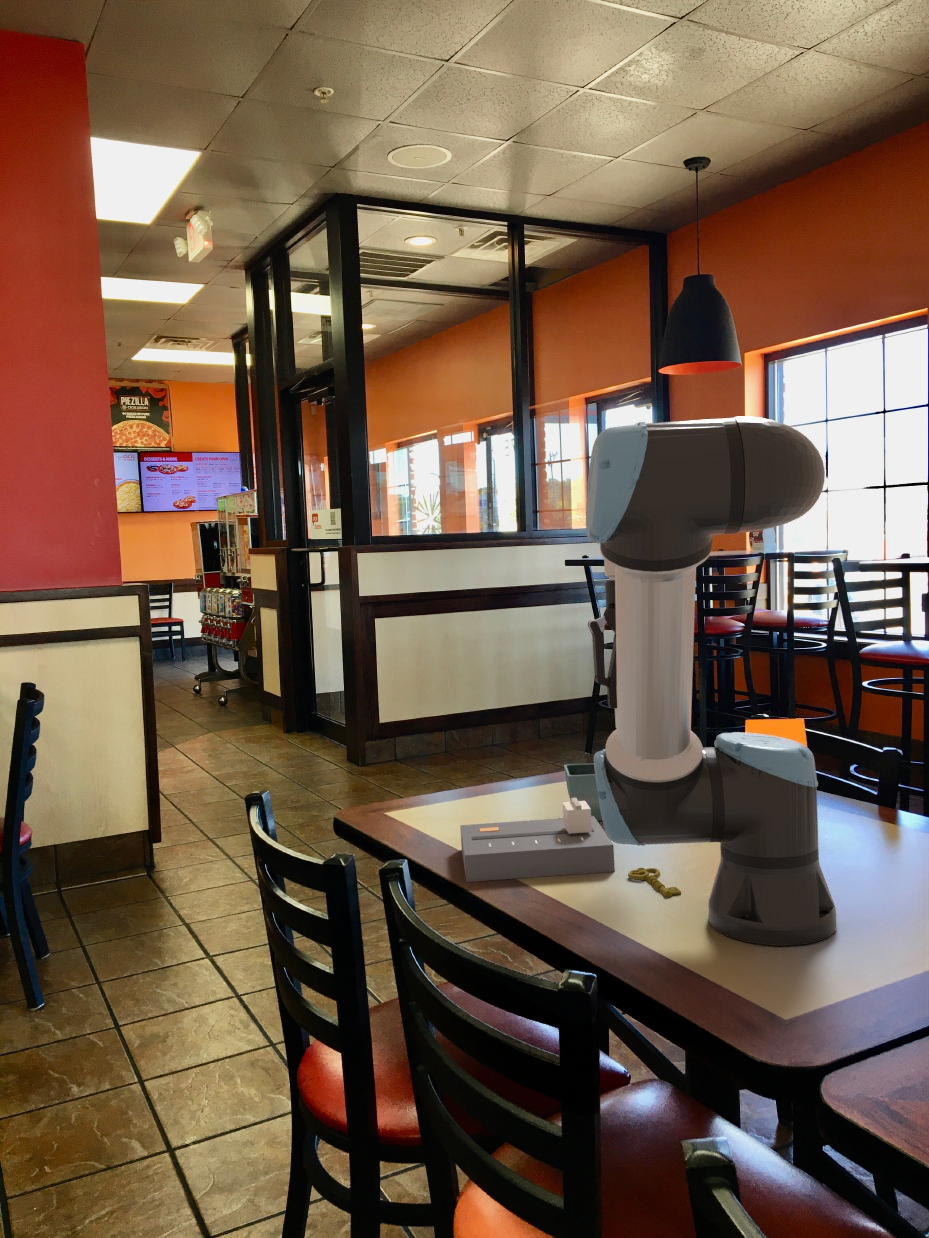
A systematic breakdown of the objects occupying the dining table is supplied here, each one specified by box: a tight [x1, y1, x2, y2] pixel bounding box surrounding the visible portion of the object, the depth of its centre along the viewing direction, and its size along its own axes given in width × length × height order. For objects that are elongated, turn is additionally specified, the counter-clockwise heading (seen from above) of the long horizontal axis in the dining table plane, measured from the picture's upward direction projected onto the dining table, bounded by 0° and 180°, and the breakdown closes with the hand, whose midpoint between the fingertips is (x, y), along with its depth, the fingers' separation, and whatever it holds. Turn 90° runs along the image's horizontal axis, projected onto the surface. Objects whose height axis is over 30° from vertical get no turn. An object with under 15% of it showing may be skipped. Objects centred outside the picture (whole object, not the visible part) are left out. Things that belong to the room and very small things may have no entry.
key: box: [627, 867, 682, 898], centre depth 135 cm, size 12×1×5 cm
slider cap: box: [562, 798, 592, 834], centre depth 149 cm, size 5×4×4 cm
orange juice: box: [744, 718, 808, 748], centre depth 148 cm, size 8×9×20 cm
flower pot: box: [563, 763, 603, 822], centre depth 170 cm, size 9×9×9 cm
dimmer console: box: [459, 816, 616, 883], centre depth 149 cm, size 16×22×4 cm
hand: (636, 727), depth 148 cm, fingers open, 4 cm apart
